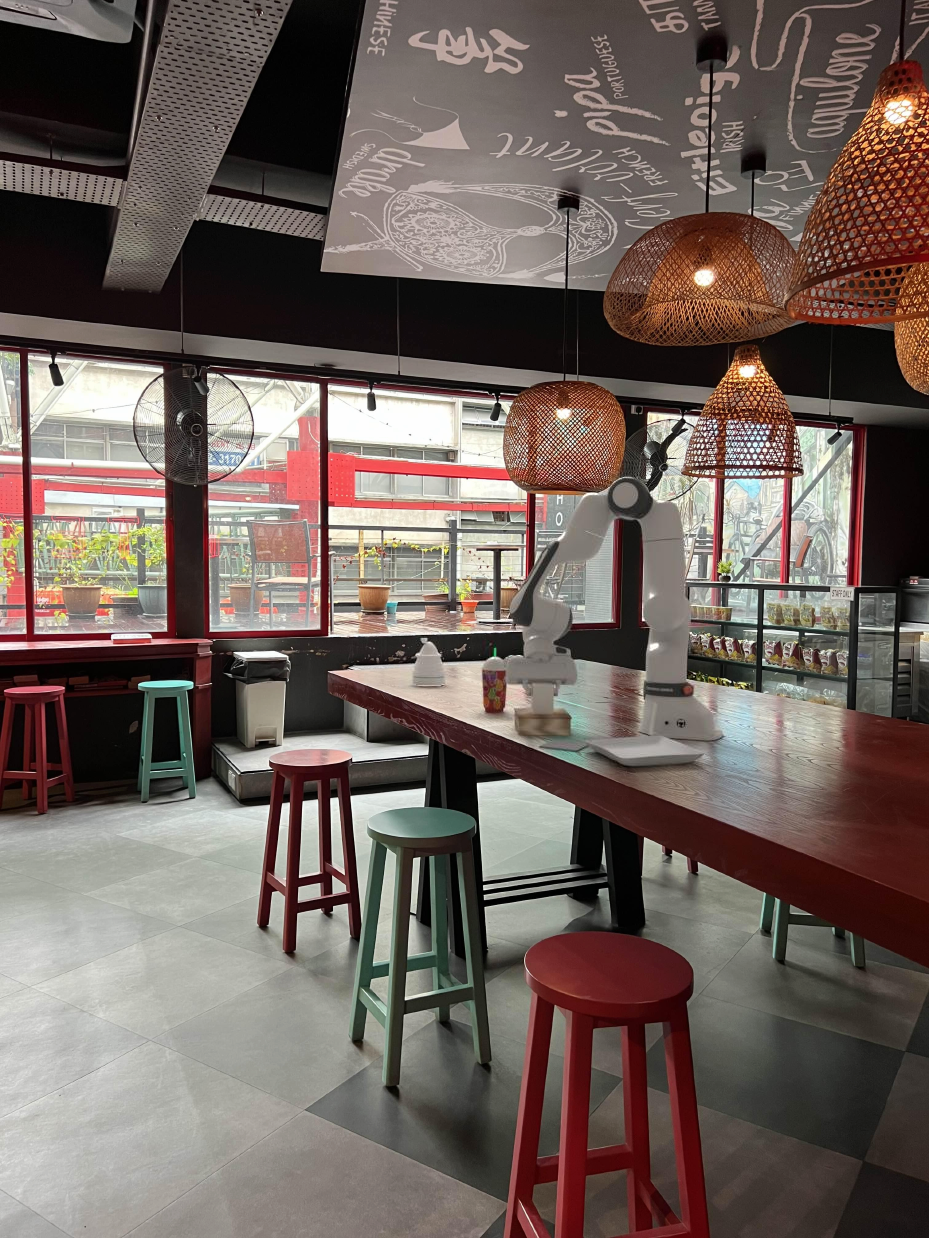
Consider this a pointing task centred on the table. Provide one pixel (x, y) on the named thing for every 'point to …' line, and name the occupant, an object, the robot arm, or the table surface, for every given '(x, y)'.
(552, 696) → the cap
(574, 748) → the mat
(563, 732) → the box
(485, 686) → the smoothie
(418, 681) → the honey pot
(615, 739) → the salad plate
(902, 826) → the table surface
